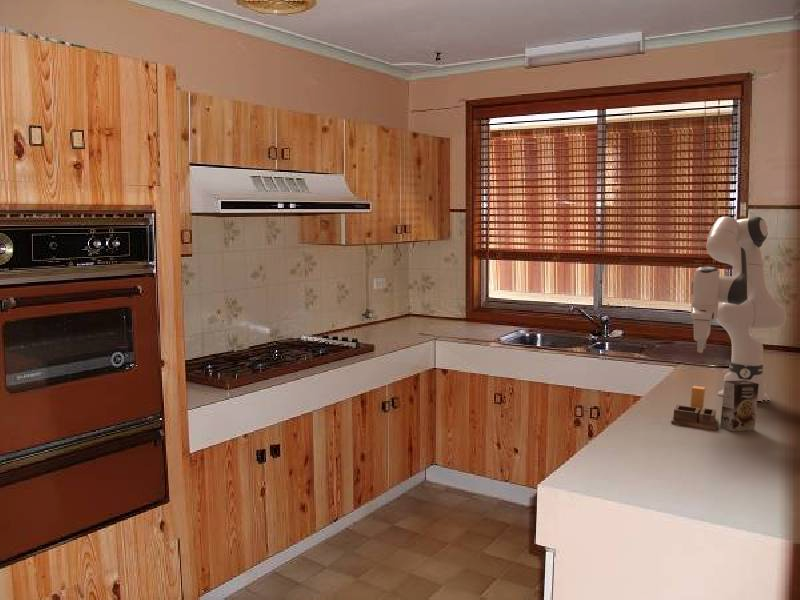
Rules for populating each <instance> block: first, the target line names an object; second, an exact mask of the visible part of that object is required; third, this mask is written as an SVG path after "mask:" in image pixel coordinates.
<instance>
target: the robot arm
mask: <svg viewBox="0 0 800 600" xmlns="http://www.w3.org/2000/svg"><path fill="white" fill-rule="evenodd" d="M768 232H769V231H768V226H767V223H766V221H765V220H764V219H763V218H762V217H760V216H751V217H747V218H740V219H736V218H734V217H731V216H721V217H720V218H718V219H716V220H715V222H714V224H712V227H711V229H710V230H709V232H708V234H707V238H706V239H707V241H706V249H705V250H706V251H707V254H708V255H709V256H710V257H711V258H712V260H715V261H716V262H719V263H722V264H727V265H730V266H731V267H732V276H731V275H730V276H727V275H720V270H719V269H718V268H717V267H715V266H709V265H707V266H699V267H697V268H696V270H695V272H694V277H693V280H692V282H691V294H692V300H691V305H690V308H691V309H690V317H691V319H692V320H693V340H694V341H695V342H696V347H697V351H696V352H697V353H699V354H702V353H703V352H704V350H706V345H707V340H708V338H709V336H710V334H711V325H712V324H713V323H714V320H716V322H717V323H718V325H720V326H721V327H722V328H723V329H724V330H725V331H726V332H727V335H728V336H729V338H730V341H731V358H730V360H731V361H730V362H729V364H728V365H729V369H728V370H729V372H727V373H726V374H725V375H724V378H723V381H738V380H746V381H750V382H754V383H757V384H759V387H758V398H757V401H761V402H763V401H762V400H770V401H771V397H769V396H768V395H767V393H766V391H767V388H766V386H767V385H766V384H767V381H766V379H765V377H764V376H763V372H764V365H763V357H764V356H763V355H764V346H763V343H762V342H761V341H760V340H758V339H756V338H755V337H753V336H751V335H750V334H749V330H766V331H767V330H776V329H780V328H783V326H784V325H785V323H786V321H787V317H788V316H787V315H788V314H787V310H786V309H785V307H784V305H782V304H781V303H780V302H778V301H776V299H774V298H773V297H772V295H771V294H770V292H769V291H768V289H767V287H766V286H767V285H766V281H765V274H764V262H763V261H764V260H763V256H762V253H761V249H760V247H762V245H763V243H764V242H765V241H766V239H767V236H768ZM722 387H723V388H722V389H721V390H718V392H717V395H719V396H721V397H723V392H724V384H723V386H722Z"/></svg>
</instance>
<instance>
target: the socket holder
mask: <svg viewBox="0 0 800 600" xmlns="http://www.w3.org/2000/svg"><path fill="white" fill-rule="evenodd" d="M699 411H700V408H696V407H691V406H688V405H679V404H676V405H675V408H674V409H673V417H672V419H671V420H670V424H671V423H672V424H671V425H676V424H679V425H678V426H683V425H684V426H685V427H690V426H691V427H692V428H696V429H697V428H698V429H703V428H704V430H710V429H711V430H712V431H716V429H717V425H718V423H719V418H716V417H717V416H716V415H717V414H716V413H717V409H713V408H707V407H704V408H702V410H701V413H700V416H699Z"/></svg>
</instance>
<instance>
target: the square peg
mask: <svg viewBox="0 0 800 600" xmlns="http://www.w3.org/2000/svg"><path fill="white" fill-rule="evenodd" d="M705 391H706V387H705V386H700V385H693V386H692V387H691V397H690V407H696V408H700V411H699V416H700V413H701V410H702V408H705V407H704V406H705V404H704V403H705Z"/></svg>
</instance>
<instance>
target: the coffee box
mask: <svg viewBox="0 0 800 600" xmlns="http://www.w3.org/2000/svg"><path fill="white" fill-rule="evenodd" d="M723 381H724V380H723ZM723 385H724V386H723V387H724V392H723V396H722V403H721V404H722V405H721V406H722V407H721V414H720V427H721V428H724V429H725V430H728V431H731V432H743V431H744V430H748V431H755V430H756V419H757V418H756V417H757V407H758V402H757V398H758V387H759V384H757V383H754V382H750V381H746V380H738V381H724V382H723ZM744 432H745V431H744Z"/></svg>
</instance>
